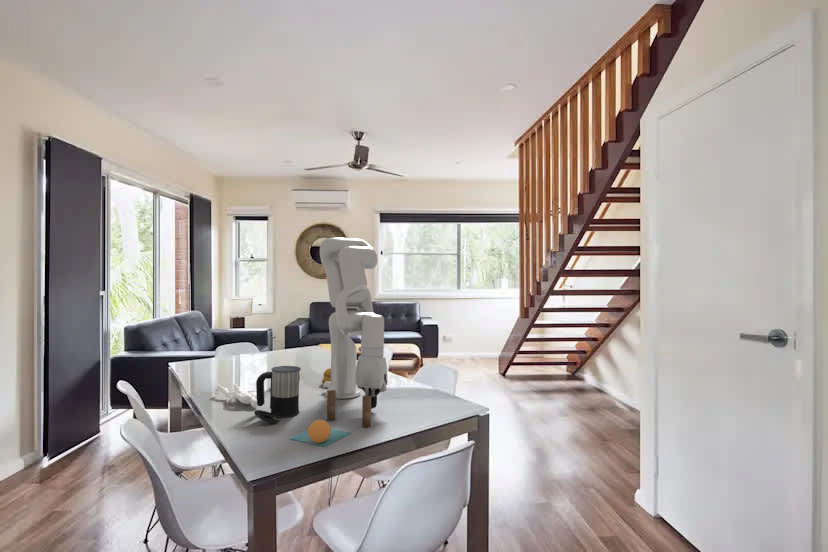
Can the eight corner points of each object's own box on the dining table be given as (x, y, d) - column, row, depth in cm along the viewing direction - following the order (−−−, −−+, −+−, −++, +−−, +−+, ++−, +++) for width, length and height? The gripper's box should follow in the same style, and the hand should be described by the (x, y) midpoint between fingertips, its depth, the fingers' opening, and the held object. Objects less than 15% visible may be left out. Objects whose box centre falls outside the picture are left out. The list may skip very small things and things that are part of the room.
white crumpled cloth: (210, 401, 168) (241, 417, 150) (208, 385, 167) (239, 400, 150) (241, 392, 176) (273, 406, 158) (239, 377, 175) (272, 390, 158)
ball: (303, 421, 123) (316, 417, 128) (303, 444, 122) (316, 440, 127) (322, 422, 121) (335, 418, 126) (322, 445, 120) (334, 441, 125)
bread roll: (327, 388, 183) (327, 368, 183) (315, 384, 190) (315, 364, 190) (354, 383, 192) (354, 364, 192) (341, 379, 199) (341, 361, 199)
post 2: (360, 427, 137) (360, 396, 137) (365, 424, 139) (365, 394, 139) (367, 428, 136) (368, 398, 136) (372, 426, 138) (372, 396, 138)
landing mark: (289, 438, 126) (289, 438, 126) (318, 426, 137) (318, 425, 137) (324, 446, 121) (324, 446, 121) (351, 433, 132) (351, 432, 132)
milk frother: (298, 408, 155) (299, 364, 155) (303, 422, 140) (304, 374, 140) (253, 412, 150) (254, 366, 150) (254, 427, 136) (254, 377, 136)
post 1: (325, 420, 143) (325, 391, 143) (330, 417, 145) (330, 389, 145) (332, 421, 142) (332, 392, 142) (337, 419, 144) (337, 390, 144)
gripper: (347, 351, 152) (346, 407, 152) (385, 355, 145) (385, 414, 145) (359, 348, 159) (359, 401, 159) (397, 352, 152) (397, 408, 152)
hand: (371, 407), depth 152 cm, fingers closed
